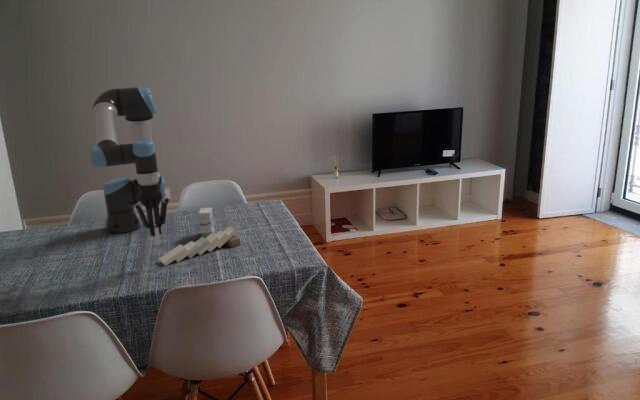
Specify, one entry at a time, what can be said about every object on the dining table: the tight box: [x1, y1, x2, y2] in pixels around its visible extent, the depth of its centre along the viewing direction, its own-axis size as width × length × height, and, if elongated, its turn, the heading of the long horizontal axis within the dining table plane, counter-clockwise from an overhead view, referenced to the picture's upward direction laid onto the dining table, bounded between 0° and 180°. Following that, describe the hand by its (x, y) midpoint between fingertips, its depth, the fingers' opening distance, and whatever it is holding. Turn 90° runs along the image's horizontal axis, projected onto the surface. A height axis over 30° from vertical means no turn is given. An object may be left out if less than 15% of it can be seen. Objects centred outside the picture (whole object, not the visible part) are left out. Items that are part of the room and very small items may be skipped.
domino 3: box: [186, 237, 210, 259], centre depth 201 cm, size 2×5×10 cm
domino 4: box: [197, 234, 219, 256], centre depth 204 cm, size 2×5×10 cm
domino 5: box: [206, 229, 228, 253], centre depth 206 cm, size 2×5×10 cm
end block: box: [224, 234, 241, 249], centre depth 211 cm, size 9×4×3 cm, turn 40°
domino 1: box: [158, 243, 187, 267], centre depth 196 cm, size 2×5×10 cm
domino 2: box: [174, 240, 199, 263], centre depth 198 cm, size 2×5×10 cm
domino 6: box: [216, 226, 238, 249], centre depth 209 cm, size 2×5×10 cm
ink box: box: [198, 207, 215, 238], centre depth 220 cm, size 9×5×12 cm, turn 5°
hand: (157, 243), depth 190 cm, fingers closed
